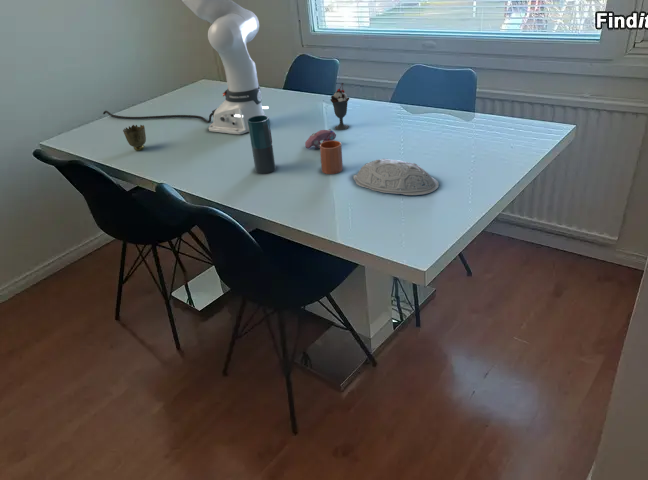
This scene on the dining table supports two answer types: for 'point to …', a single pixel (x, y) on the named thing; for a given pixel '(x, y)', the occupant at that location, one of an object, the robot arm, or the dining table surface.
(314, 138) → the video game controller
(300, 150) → the dining table surface
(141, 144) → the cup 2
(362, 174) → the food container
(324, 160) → the cup
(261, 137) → the cup stack
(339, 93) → the sundae
